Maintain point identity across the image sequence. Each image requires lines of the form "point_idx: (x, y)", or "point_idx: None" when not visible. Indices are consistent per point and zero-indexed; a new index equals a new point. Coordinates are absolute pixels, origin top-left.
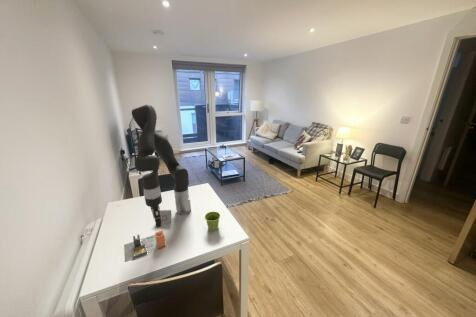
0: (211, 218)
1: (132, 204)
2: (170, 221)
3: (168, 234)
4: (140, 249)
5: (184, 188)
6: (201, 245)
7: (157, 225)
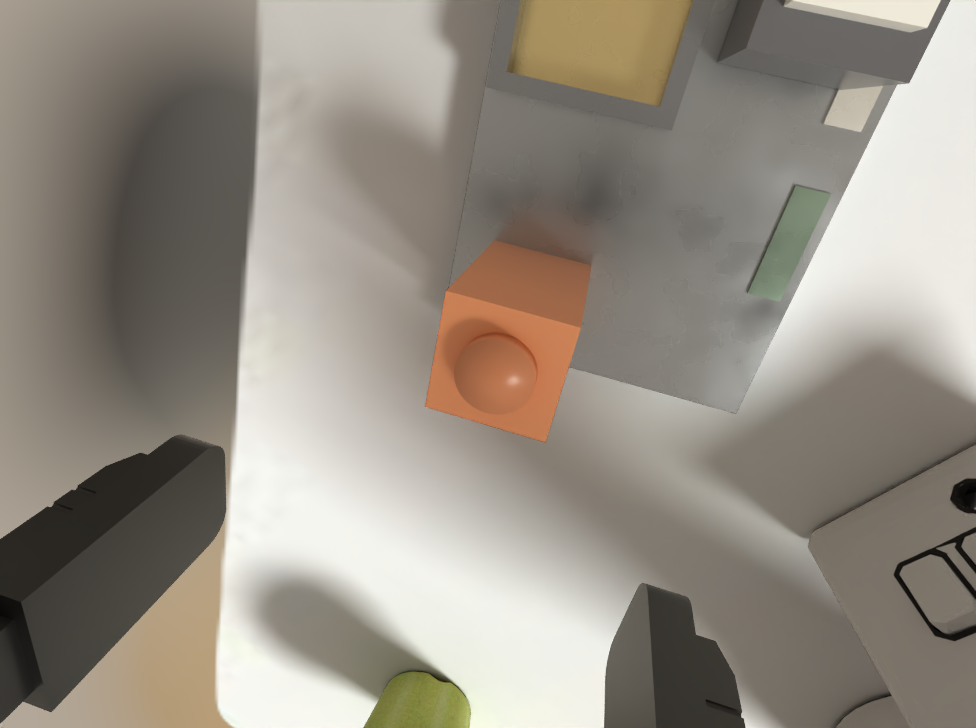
0: None
1: None
2: (830, 578)
3: (666, 435)
4: (644, 25)
5: None
6: (300, 535)
7: (80, 494)
